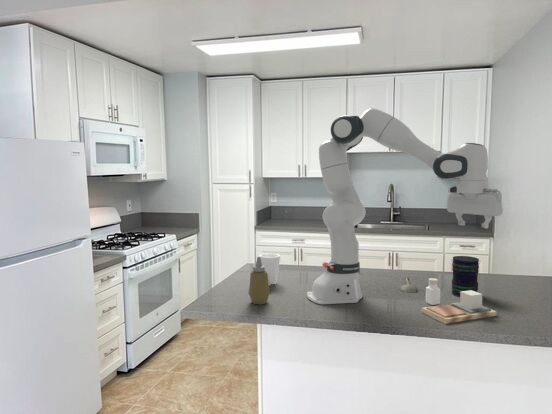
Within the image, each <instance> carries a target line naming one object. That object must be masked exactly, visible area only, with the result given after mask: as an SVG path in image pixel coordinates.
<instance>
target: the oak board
mask: <svg viewBox="0 0 552 414" xmlns="http://www.w3.org/2000/svg"><path fill="white" fill-rule="evenodd" d="M420 309H421V310H420V311H421V313H422V314H425V315H426V316H429V317H430V318H433V319H435V320H437V321H438V322H440V323H443V324H446V325H447V324H453V323H459V322H465V321H472V320H477V319H485V318H490V317H496V316H497V310H494V309H492V308H490V307H486V306H484V305H482V308H478V309H468V308H466V307H463V306H461V305H460V301H459V302H454V303H453V302H452V303H447V304H437V305H430V306H424V307H421V308H420Z"/></svg>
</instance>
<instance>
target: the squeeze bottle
mask: <svg viewBox="0 0 552 414" xmlns="http://www.w3.org/2000/svg"><path fill="white" fill-rule="evenodd" d="M255 261H256V263H255V265H253V266H252V271H251V272H250V276H249V277H250V278H249V289H248V295H249V299H250V301H251V303H252V304H253V305H265V304H267V303H268V300H269V297H270V293H271V292H270V285H269V283H268V274H267V272H266V271H265V266H263V265H262V262H261V258H260V257H259V256H257V257H256V260H255Z"/></svg>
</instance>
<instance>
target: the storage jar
mask: <svg viewBox="0 0 552 414" xmlns="http://www.w3.org/2000/svg"><path fill="white" fill-rule="evenodd" d="M479 261H480V259H479V258H477V257H475V256H468V255H455V256H452V264H451V266H452V268H451V271H452V279H451V294H452V295H453V296H456V297H459V298H460V292H461V291H469V290H472V291H475V292H478V291H479V282H478V278H479V277H478V276H479V275H478V274H479V271H480V270H479V269H480V266H479V265H480V263H479ZM478 293H479V292H478Z"/></svg>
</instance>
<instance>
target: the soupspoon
mask: <svg viewBox="0 0 552 414" xmlns="http://www.w3.org/2000/svg"><path fill="white" fill-rule="evenodd" d="M409 278H410V277H409V276H405V277H404V280H406V284H403V285H401V287H400V288H401V291H402V292H404V293H408V294H415V293H418V287H417V286H415V285H414V284H411V283H410V281H409Z"/></svg>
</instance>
